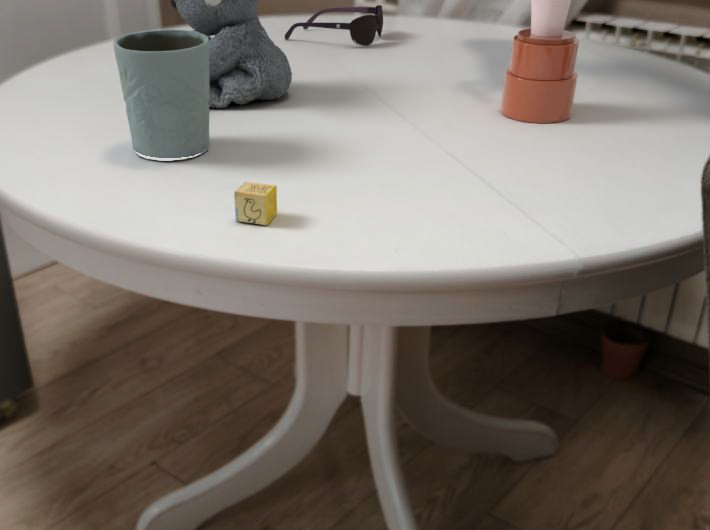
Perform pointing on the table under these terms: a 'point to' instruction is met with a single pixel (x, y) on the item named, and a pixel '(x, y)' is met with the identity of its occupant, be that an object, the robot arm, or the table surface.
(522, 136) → the table surface
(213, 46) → the koala plush
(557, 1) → the smoothie
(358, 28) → the sunglasses
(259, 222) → the alphabet block
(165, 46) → the green embossed cup
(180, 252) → the table surface
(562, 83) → the upturned cup
